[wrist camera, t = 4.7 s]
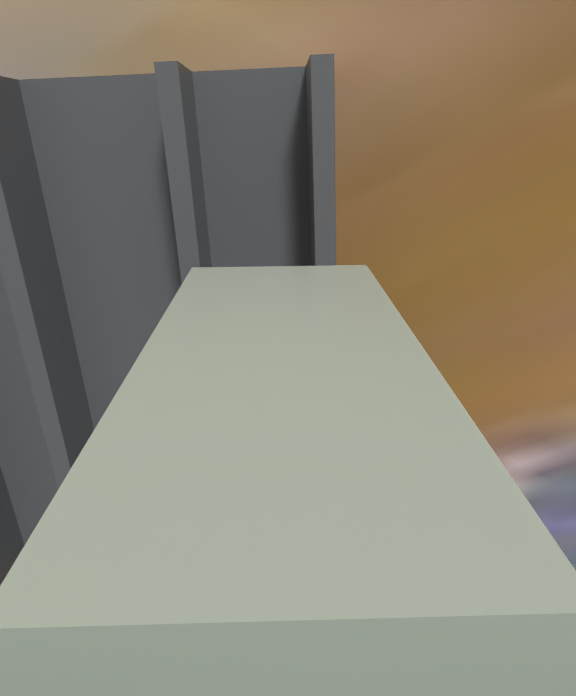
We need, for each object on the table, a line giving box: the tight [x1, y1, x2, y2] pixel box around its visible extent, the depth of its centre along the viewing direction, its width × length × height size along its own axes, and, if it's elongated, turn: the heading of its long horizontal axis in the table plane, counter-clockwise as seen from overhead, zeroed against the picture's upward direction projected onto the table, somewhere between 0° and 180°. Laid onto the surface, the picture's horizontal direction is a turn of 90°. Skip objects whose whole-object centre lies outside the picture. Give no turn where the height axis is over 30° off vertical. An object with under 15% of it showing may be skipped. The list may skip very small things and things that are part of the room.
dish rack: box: [0, 54, 336, 585], centre depth 18 cm, size 18×14×4 cm
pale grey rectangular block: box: [0, 265, 576, 696], centre depth 8 cm, size 10×3×7 cm, turn 0°
